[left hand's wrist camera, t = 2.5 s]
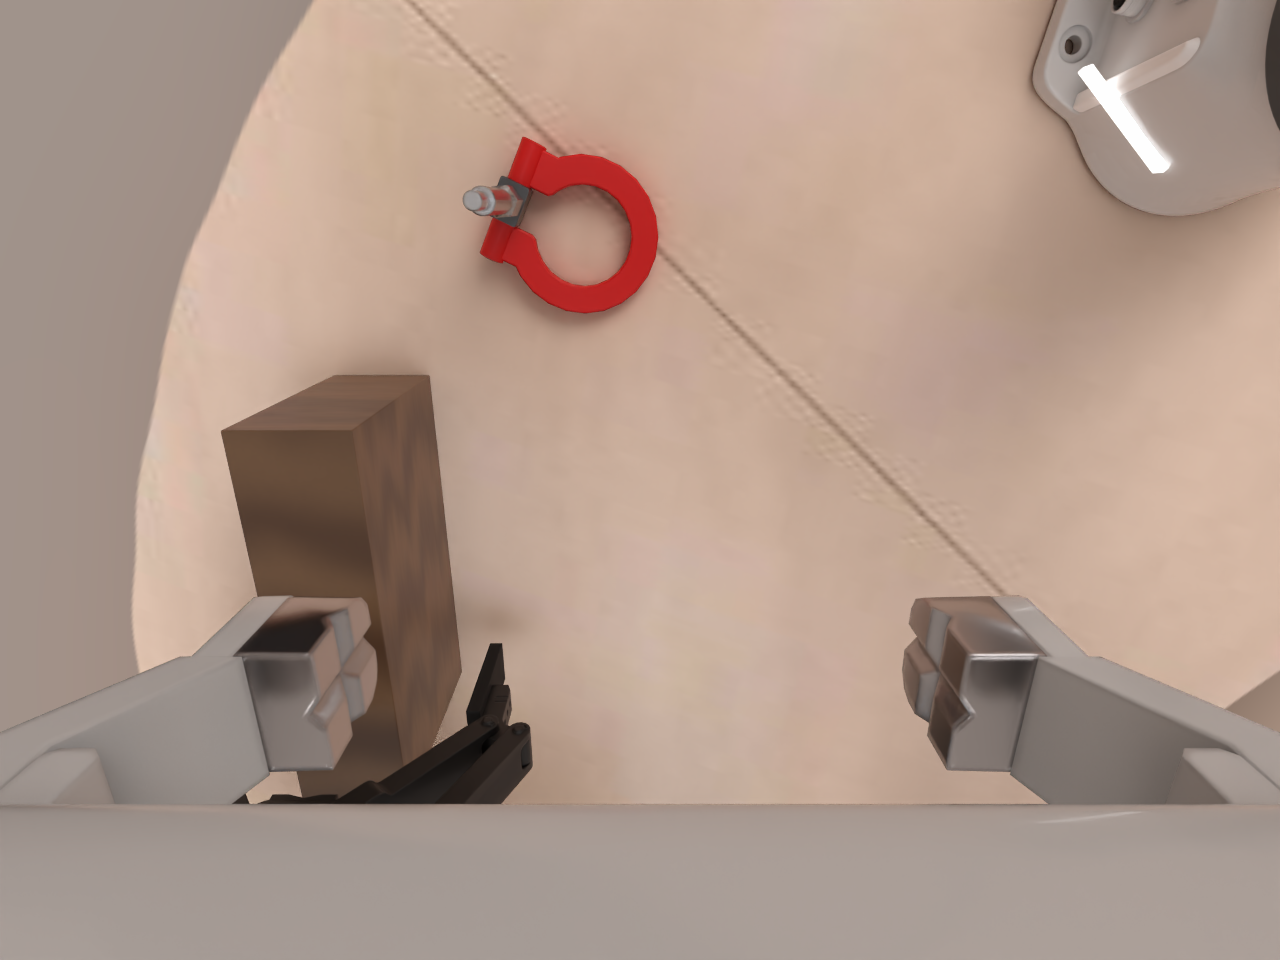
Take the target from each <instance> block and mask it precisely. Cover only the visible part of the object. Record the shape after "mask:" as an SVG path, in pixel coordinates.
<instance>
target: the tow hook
mask: <svg viewBox="0 0 1280 960" xmlns="http://www.w3.org/2000/svg"><path fill="white" fill-rule="evenodd" d="M581 184H583V185H590V186H596V187H598V188H600V189H602V190H605V191H607V192H608V193H609V194H611V195H612V196H613V197H614V198H615V199H617V200H618V202H619V203H620V205H621V206H622V207H623V209H624V210H625V212H626V215H627V217H628V220H629V222H630V228H631V236H632V237H631V245H630V251H629V253H628V256H627V258H626V261H625V263H624V264H623V265H622V267H621V268H620V269H619V271H618V272H617V273H616V274H614V275H613V276H612V277H611V278H609V279H608V280H606V281H603V282H601V283H599V284H595V285H588V286H582V285H574V284H571V283H569V282H566V281H564V280H561V279H560V278H559V277H557V276H556V275H555V274H554V273H552V272H551V271H550V270H549V268H548V267H547V266H546V264H545V263H544V262H543V260H542V258H541V255H540V253H539V251H538V247H537V242H536V239H535V237H534V236H533V235H532V234H530V233H528V232H525V231H523V230H521V229H519V228H517V226H519V225H520V223H521V221H522V218H523V216H524V213H525V210H526V208H527V205H528V203H529V200H530V197H531V195H532V192H533V191H532V189H531V188H533V189H535V190H537V191H539V192H541V193H543V194H545V195H547V196H551V195H554V194H555V193H557V192H558V191H560V190H562V189H564V188H567V187H569V186H574V185H581ZM463 204H464V206H465V207H466V208H467V209H468V210H470V211H473V212H474V213H475V214H477V215H479V216H491V217H493V218H492V221H491V224H490V226H489V229H488V232H487V235H486V237H485V240H484V243H483V245H482V248H481V251H480V254H482V255H483V256H484V257H486V258H488V259H490V260H492V261H494V262H498V263H503V261H505V262H507V263H509V264H511V265H513V266H516V268H517V270H518V272H519V274H520V276H521V278H522V279H523V280H524V281H525V283H526V284H527V285H528V286H529V288H530V289H531V290H532V291H533V292H534V293H535V294H537V295H538V296H539V297H541V298H542V299H543V300H545V301H546V302H547V303H549V304H551V305H553V306H556V307H558V308H561V309H563V310H565V311H571V312H578V313H592V312H599V311H605V310H607V309H609V308H612V307H614V306H616V305H619V304H621V303H622V302H624V301H625V300H626V299H628V298H629V297H630V296H631V295H633V294H634V293H635V292H636V291H637V290H638V289H639V287H640V286H641V285H642V283H643V282H644V281H645V279H646V278H647V276H648V275H649V272H650V270H651V267H652V265H653V262H654V260H655V257H656V250H657V242H658V231H657V222H656V215H655V213H654V210H653V207H652V205H651V202H650V199H649V197H648V195H647V194H646V192H645V191H644V189H643V188H642V187H641V185H640V184H639V182H638V181H637V179H636V178H634V177H633V176H632V175H631V174H630V173H628V172H627V171H626V170H625V169H624V168H623V167H621V166H620V165H618V164H616V163H613V162H611V161H609V160H607V159H605V158H603V157H598V156H591V155H585V154H577V155H570V156H563V157H559V158H558V157H556V156H554V155H552V154H550V153H548V152H546V148H545V147H543V146H542V145H540V144H538V143H536V142H534V141H532V140H530V139H528V138H526V137H522V140H521V143H520V145H519V148H518V151H517V154H516V156H515V159H514V162H513V164H512V167H511V170H510V172H509V175H508V177H504V176H501V178H500V180H499V183H498V185H497V186H493V187H486V186H477V187H474V188H473V189H472V190H470V191H467V192H466V193H465V194H464V196H463Z"/></svg>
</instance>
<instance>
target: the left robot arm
mask: <svg viewBox="0 0 1280 960" xmlns="http://www.w3.org/2000/svg"><path fill="white" fill-rule="evenodd" d="M1067 39H1070V40H1071V41H1072V42H1073V51H1072V53H1071V54H1068V53H1066V51H1065V42H1066V41H1067ZM1032 78H1033V85H1034V88H1035V90H1036V92H1037V94H1038V95H1039V96H1040V98H1041V99H1042V100H1043V101H1044V102H1045V103H1046V104H1047V105H1048V106H1049V107H1050V108H1051V109H1053V110H1054V111H1055V112H1056V113H1057V114H1058V115H1060V116H1061V117H1062V118H1063V119H1065V120H1066V121H1067V122H1068V124H1069V126H1070V127H1071V129H1072V131H1073V133H1074V135H1075V138H1076V140H1077V143H1078V145H1079V148H1080V150H1081V153H1082V155H1083V157H1084V159H1085V161H1086V163H1087V165H1088V167H1089V169H1090V170H1091V172H1092V173H1093V175H1094V176H1095V177H1096V179H1097V180H1098V181H1099V182H1100V184H1101V185H1102V186H1103V187H1104V188H1105V189H1106V190H1107V191H1108V192H1110V193H1111V194H1112V195H1113V196H1115V197H1116V198H1117V199H1119V200H1120V201H1122V202H1123V203H1125V204H1127V205H1129V206H1131V207H1133V208H1136V209H1138V210H1141V211H1144V212H1148V213H1152V214H1157V215H1165V216H1186V215H1195V214H1200V213H1205V212H1209V211H1213V210H1216V209H1219V208H1222V207H1224V206H1227V205H1229V204H1232V203H1234V202H1236V201H1239V200H1241V199H1243V198H1246V197H1249V196H1252V195H1255V194H1258V193H1262V192H1265V191H1269V190H1273V189H1277V188H1280V0H1057V2H1056V5H1055V8H1054V11H1053V14H1052V16H1051V19H1050V22H1049V25H1048V28H1047V31H1046V34H1045V37H1044V40H1043V43H1042V46H1041V48H1040V51H1039V54H1038V57H1037V60H1036V63H1035V66H1034V70H1033V77H1032ZM370 625H371V620H370V615H369V610H368V605H367V603H366V602H365V601H364V600H363V599H362V598H361V597H316V596H295V597H294V596H291V595H288V596H260V597H254V598H253V599H252V600H251V601H250V602H248V603H247V604H246V605H245V606H244V607H243V608H242V609H241V610H240V611H239V612H238V613H237V614H236V615H235V616H234V617H233V618H232V619H231V620H229V621H228V622H227V623H226V624H225V625H224V626H223V627H222V628H221V629H220V630H219V631H218V632H217V633H216V634H215V635H214V636H213V637H211V638H210V639H209V640H208V641H207V642H206V643H205V644H204V645H203V646H202V647H201V648H200V649H199V650H198V651H197V652H196V653H195V654H194V655H192V656H191V657H178V658H176V659H173V660H171V661H169V662H166V663H164V664H161V665H159V666H157V667H154V668H152V669H149V670H147V671H145V672H142V673H140V674H138V675H135V676H133V677H130V678H128V679H126V680H123V681H121V682H119V683H116V684H114V685H111V686H109V687H107V688H104V689H102V690H100V691H97V692H95V693H92V694H90V695H88V696H85V697H83V698H81V699H78V700H76V701H73V702H71V703H69V704H66V705H64V706H62V707H59V708H57V709H54V710H52V711H50V712H47V713H45V714H42V715H40V716H38V717H35V718H33V719H31V720H28V721H26V722H23V723H21V724H19V725H16V726H14V727H12V728H9V729H7V730H5V731H2V732H0V960H1280V732H1277V731H1275V730H1273V729H1270V728H1268V727H1266V726H1263V725H1261V724H1258V723H1256V722H1254V721H1251V720H1249V719H1247V718H1244V717H1242V716H1239V715H1237V714H1235V713H1232V712H1230V711H1228V710H1225V709H1223V708H1221V707H1218V706H1216V705H1213V704H1211V703H1209V702H1206V701H1204V700H1202V699H1199V698H1197V697H1194V696H1192V695H1190V694H1187V693H1185V692H1183V691H1180V690H1178V689H1175V688H1173V687H1171V686H1168V685H1166V684H1164V683H1161V682H1159V681H1157V680H1154V679H1152V678H1149V677H1147V676H1145V675H1142V674H1140V673H1138V672H1135V671H1133V670H1130V669H1128V668H1126V667H1123V666H1121V665H1119V664H1116V663H1114V662H1111V661H1109V660H1107V659H1104V658H1102V657H1089V656H1088V655H1087V654H1085V653H1084V652H1083V651H1082V650H1081V649H1080V648H1079V647H1078V646H1077V645H1076V644H1075V643H1074V642H1073V641H1072V640H1071V639H1070V638H1069V637H1068V636H1066V635H1065V634H1064V633H1063V632H1062V631H1061V630H1060V629H1059V628H1058V627H1057V626H1056V625H1055V624H1054V623H1053V622H1052V621H1051V620H1050V619H1049V618H1048V617H1046V616H1045V615H1044V614H1043V613H1042V612H1041V611H1040V610H1039V609H1038V608H1037V607H1036V606H1035V605H1034V604H1033V603H1032V602H1031V601H1030V600H1029V599H1028V598H1025V597H1022V596H1019V595H1012V596H977V597H936V598H919V599H916V600H915V602H914V604H913V606H912V608H911V613H910V619H909V625H910V627H911V628H912V630H913V631H914V633H915V634H916V636H917V637H916V638H915V639H914V641H913V642H912V643H911V644H910V645H909V646H908V647H907V648H906V649H905V651H904V659H903V667H902V672H903V683H904V690H905V693H906V696H907V699H908V702H909V704H910V706H911V708H912V709H913V711H914V713H915V714H916V715H918V716H919V717H921V718H922V719H924V720H926V721H927V722H929V727H928V733H927V736H928V738H929V740H930V741H931V743H932V745H933V747H934V748H935V750H936V752H937V754H938V755H939V757H940V759H941V761H942V762H943V764H944V766H945V767H946V769H947V770H960V771H997V772H1011V773H1010V775H1011V776H1013V777H1014V778H1015V779H1017V780H1018V781H1019V782H1021V783H1022V784H1023V785H1024V786H1026V787H1027V788H1028V789H1030V790H1031V791H1032V792H1034V793H1035V794H1036V795H1038V796H1039V797H1040V798H1042V799H1043V800H1044V801H1045V802H1047V803H1048V804H232V803H233V802H235V801H236V800H237V799H239V798H240V797H241V796H243V795H244V794H245V793H247V792H248V791H249V790H251V789H252V788H253V787H254V786H256V785H257V784H258V783H260V782H261V781H262V780H264V779H265V778H266V777H268V776H269V772H282V771H318V770H333V769H334V768H335V766H336V764H337V762H338V761H339V759H340V757H341V755H342V754H343V752H344V750H345V748H346V747H347V745H348V743H349V741H350V740H351V738H352V736H353V733H352V727H351V722H353V721H354V720H356V719H358V718H359V717H361V716H362V715H364V714H365V713H366V711H367V709H368V707H369V706H370V704H371V702H372V700H373V696H374V692H375V688H376V683H377V658H376V651H375V649H374V648H373V647H372V646H371V645H370V644H369V643H368V642H367V641H366V640H365V638H364V637H363V636H364V634H365V633H366V631H367V630H368V628H369V627H370Z"/></svg>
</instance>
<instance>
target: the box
mask: <svg viewBox="0 0 1280 960" xmlns="http://www.w3.org/2000/svg"><path fill="white" fill-rule="evenodd" d="M221 434H222V439H223V443H224V448H225V452H226V457H227V461H228V466H229V470H230V475H231V479H232V484H233V488H234V492H235V497H236V501H237V506H238V510H239V515H240V519H241V524H242V528H243V533H244V537H245V542H246V546H247V551H248V555H249V560H250V564H251V569H252V573H253V578H254V582H255V587H256V591H257V596H258V597H260V596H288V595H291V596H294V597H295V596H316V597H361V598H362V599H363V600H364V601H365V602H366V603H367V605H368V610H369V615H370V620H371V625H370V627H369V628H368V630H367V631H366V633H365V634H364V636H363V637H364V638H365V640H366V641H367V642H368V643H369V644H370V645H371V646H372V647H373V648H374V649H375V651H376V658H377V683H376V688H375V692H374V696H373V700H372V702H371V704H370V706H369V707H368V709H367V711H366V713H365V714H364V715H362V716H361V717H359V718H358V719H356V720H354V721H353V722H351V727H352V733H353V736H352V738H351V740H350V741H349V743H348V745H347V747H346V748H345V750H344V752H343V754H342V755H341V757H340V759H339V761H338V762H337V764H336V766H335V768H334V769H333V770H318V771H297V775H298V779H299V784H300V788H301V793H302V797H303V798H306V797H311V796H316V795H321V794H338V799H339V798H340V797H342V796H344V795H345V794H347V793H348V792H350V791H352V790H353V789H355V788H356V787H358V786H359V785H361V784H363V783H364V782H366V781H370V780H372V781H374V782H380V781H382V780H383V779H385V778H386V777H388V776H390V775H391V774H393V773H394V772H396V771H397V770H399V769H400V768H402V767H404V766H405V765H407V764H408V763H410V762H411V761H413V760H415V759H416V758H418V757H419V756H421V755H422V754H424V753H425V752H427V751H429V750H430V749H431V748H432V745H433V743H434V740H435V738H436V735H437V733H438V730H439V728H440V725H441V723H442V720H443V718H444V715H445V713H446V710H447V708H448V705H449V703H450V700H451V698H452V695H453V693H454V690H455V688H456V685H457V683H458V680H459V678H460V675H461V672H462V670H461V661H460V652H459V642H458V633H457V624H456V615H455V606H454V597H453V588H452V579H451V570H450V560H449V551H448V542H447V533H446V524H445V515H444V506H443V497H442V487H441V478H440V469H439V460H438V451H437V442H436V433H435V424H434V414H433V405H432V396H431V387H430V378H429V375H338V376H332V377H330V378H328V379H326V380H324V381H322V382H320V383H318V384H316V385H314V386H311V387H309V388H307V389H305V390H303V391H301V392H299V393H297V394H295V395H293V396H291V397H289V398H287V399H285V400H283V401H281V402H279V403H277V404H275V405H273V406H271V407H269V408H267V409H265V410H263V411H260V412H258V413H256V414H254V415H252V416H250V417H248V418H246V419H244V420H242V421H240V422H238V423H236V424H234V425H232V426H230V427H228V428H226V429H224V430H222V431H221Z"/></svg>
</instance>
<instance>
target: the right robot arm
mask: <svg viewBox="0 0 1280 960" xmlns="http://www.w3.org/2000/svg"><path fill="white" fill-rule="evenodd" d="M504 681H505V672H504V660H503V648H502V643H490V646H489V649H488V651H487V654H486V657H485V660H484V663H483V665H482V668H481V671H480V674H479V677H478V680H477V682H476V685H475V688H474V691H473V694H472V697H471V699H470V702H469V705H468V708H467V711H466V714H467V723H468V726H466V727H465V728H463V729H461V730H460V731H458V732H457V733H455V734H454V735H452V736H450V737H449V738H447V739H446V740H444V741H443V742H441V743H440V744H438V745H436V746H435V747H433V748H432V749H430V750H429V751H427V752H425V753H424V754H422V755H421V756H419V757H418V758H416V759H415V760H413V761H411V762H410V763H408V764H407V765H405V766H404V767H402V768H400V769H399V770H397V771H396V772H394V773H393V774H391V775H390V776H388V777H386V778H385V779H383V780H382V781H380V782H374V781H372V780H370V781H366V782H364V783H363V784H361V785H359V786H358V787H356V788H355V789H353V790H352V791H350V792H348V793H347V794H345V795H344V796H342V797H340V798H339V799H338V794H321V795H316V796H311V797H306V798H301V797H297V796H293V795H272V796H271V798H270V799H269V800H267V801H263V802H260V803H258V804H501V803H502V802H503V801H504V800H505V799H506V798H507V796H508V795H509V794H510V793H511V792H512V791H513V789H514V788H515V787H516V786H517V785H518V784H519V782H520V781H521V780H522V779H523V778H524V777H525V775H526V774H527V773H528V772H529V771H530V770H531V768H532V766H533V762H532V748H531V734H530V727H529V725H528V724H526V723H522V722H519V723H515V724H512V725H511V726H508V722H509V718H510V715H511V711H512V707H511V694H510V688H509V686H508V685H503V684H504ZM232 804H249V802H248V799H247V796H246V794H244V795H243V796H241V797H240V798H239V799H237V800H236V801H235V802H233V803H232Z"/></svg>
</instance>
